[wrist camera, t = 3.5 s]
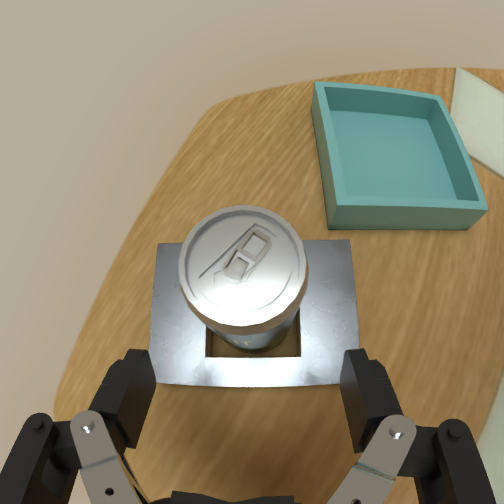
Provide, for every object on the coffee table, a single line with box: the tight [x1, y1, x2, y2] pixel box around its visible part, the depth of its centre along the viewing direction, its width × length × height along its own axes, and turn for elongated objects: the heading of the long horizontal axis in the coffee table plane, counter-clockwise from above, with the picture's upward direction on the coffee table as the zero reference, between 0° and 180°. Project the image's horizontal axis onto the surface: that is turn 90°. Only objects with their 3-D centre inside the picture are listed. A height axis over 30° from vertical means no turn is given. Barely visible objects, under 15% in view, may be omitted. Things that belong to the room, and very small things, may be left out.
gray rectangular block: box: [149, 240, 359, 387], centre depth 22 cm, size 14×10×2 cm
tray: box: [311, 81, 489, 230], centre depth 26 cm, size 14×14×4 cm
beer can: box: [178, 205, 309, 354], centre depth 18 cm, size 5×5×12 cm
